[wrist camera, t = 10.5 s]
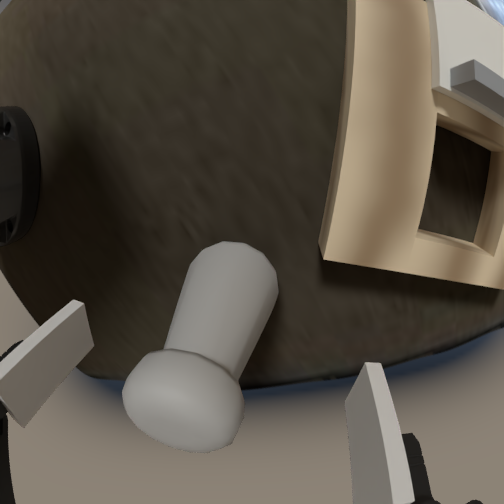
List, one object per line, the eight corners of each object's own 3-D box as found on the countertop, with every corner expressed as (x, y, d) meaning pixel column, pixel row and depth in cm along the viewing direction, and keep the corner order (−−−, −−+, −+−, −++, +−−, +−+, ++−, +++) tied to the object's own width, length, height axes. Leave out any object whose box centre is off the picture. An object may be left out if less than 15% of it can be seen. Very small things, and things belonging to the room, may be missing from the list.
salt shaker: (265, 315, 20) (236, 480, 8) (192, 293, 20) (106, 433, 8) (291, 245, 18) (287, 416, 6) (208, 220, 18) (82, 342, 6)
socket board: (318, 242, 18) (323, 259, 15) (347, -2, 11) (355, -23, 8) (499, 276, 16) (517, 292, 13) (526, 88, 10) (547, 86, 7)
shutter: (431, 88, 10) (463, 77, 7) (424, -14, 7) (444, -36, 4) (520, 138, 10) (552, 142, 6) (513, 41, 7) (539, 33, 3)
